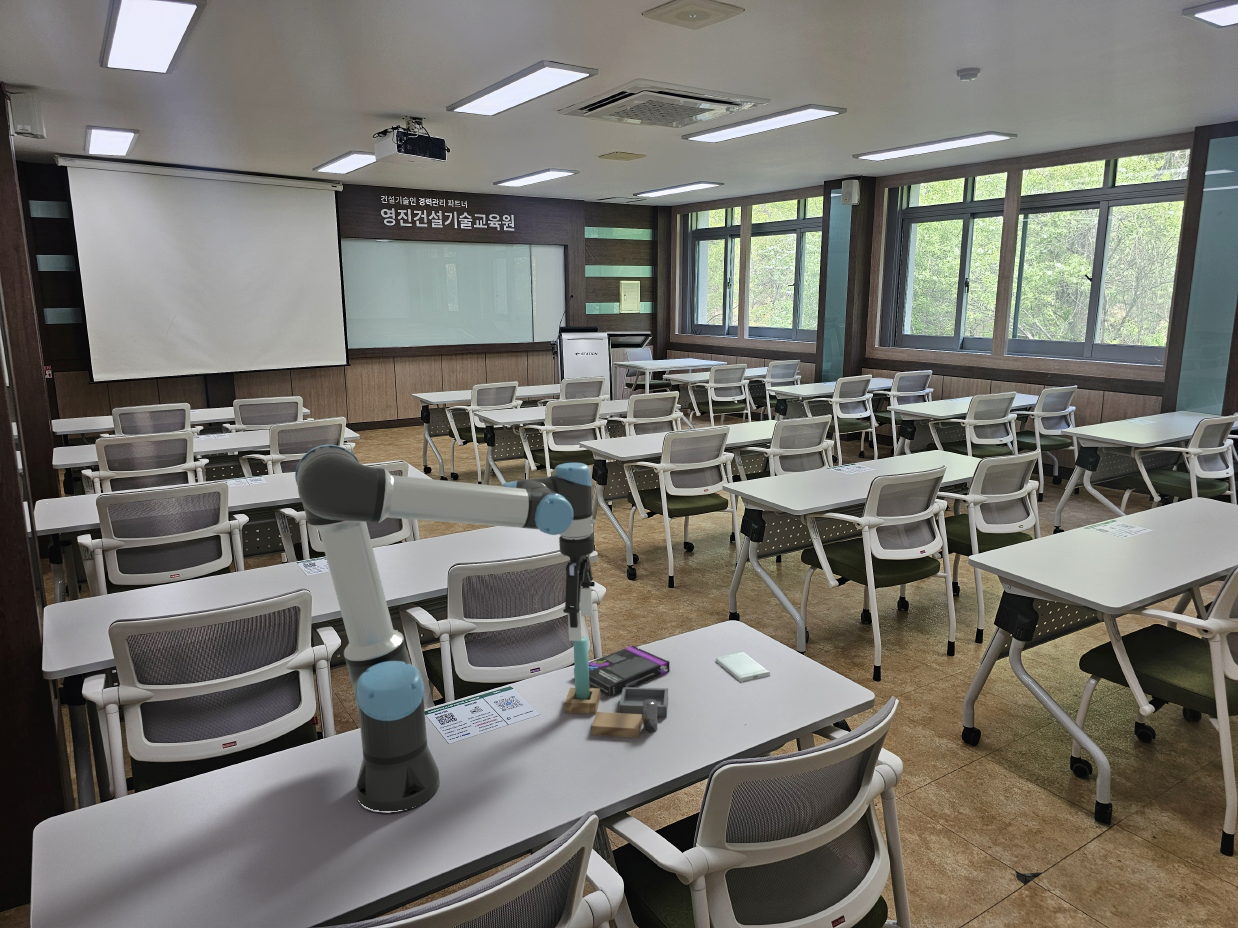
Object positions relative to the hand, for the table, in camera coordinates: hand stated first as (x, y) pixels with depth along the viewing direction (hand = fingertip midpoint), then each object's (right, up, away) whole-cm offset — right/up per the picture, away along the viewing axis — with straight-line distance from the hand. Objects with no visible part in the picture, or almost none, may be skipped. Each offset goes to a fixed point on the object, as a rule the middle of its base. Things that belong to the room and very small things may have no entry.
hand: (581, 627), depth 173 cm
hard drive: (+39, -15, +22) cm, 47 cm away
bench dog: (+15, -21, -5) cm, 26 cm away
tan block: (+8, -21, -5) cm, 23 cm away
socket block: (0, -19, +5) cm, 20 cm away
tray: (+14, -19, +4) cm, 24 cm away
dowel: (0, -19, +5) cm, 20 cm away
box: (+9, -16, +20) cm, 27 cm away
